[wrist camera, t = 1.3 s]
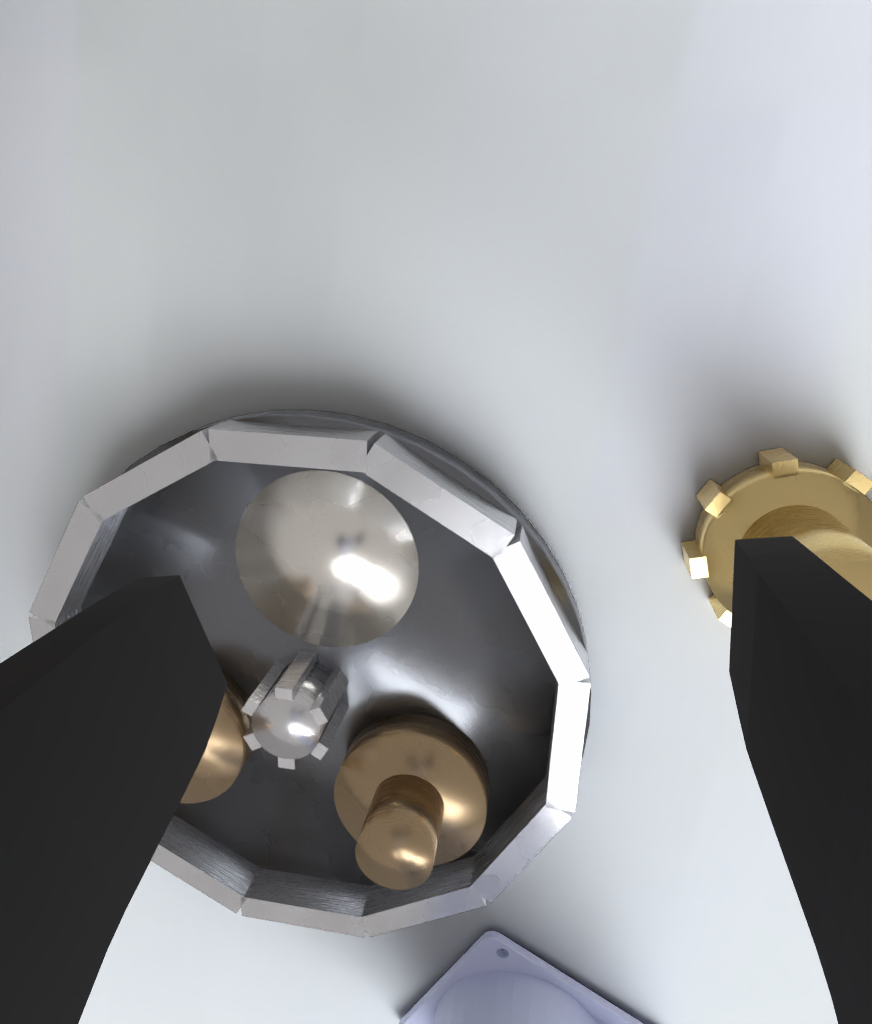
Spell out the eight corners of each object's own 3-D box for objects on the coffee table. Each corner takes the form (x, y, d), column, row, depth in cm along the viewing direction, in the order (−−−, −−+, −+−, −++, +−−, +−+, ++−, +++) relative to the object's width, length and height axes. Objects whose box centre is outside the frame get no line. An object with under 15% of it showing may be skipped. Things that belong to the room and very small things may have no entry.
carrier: (710, 624, 24) (750, 712, 19) (406, 957, 31) (378, 1082, 26) (203, 290, 23) (109, 292, 18) (10, 709, 30) (-94, 791, 25)
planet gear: (923, 517, 22) (1052, 598, 16) (788, 652, 24) (861, 766, 18) (766, 410, 21) (841, 456, 16) (644, 557, 24) (672, 643, 18)
